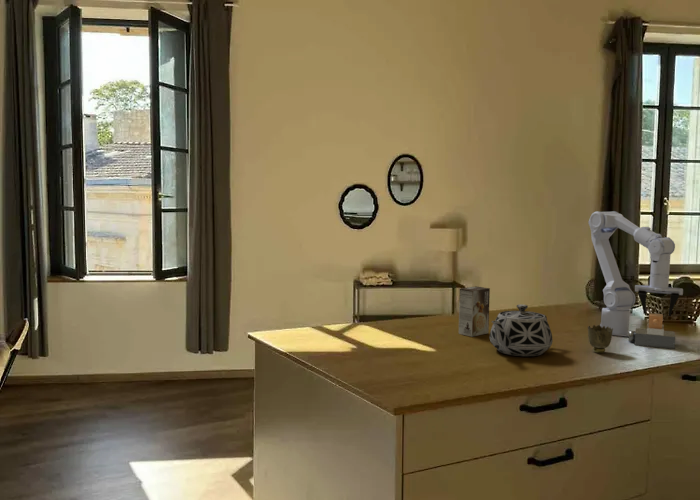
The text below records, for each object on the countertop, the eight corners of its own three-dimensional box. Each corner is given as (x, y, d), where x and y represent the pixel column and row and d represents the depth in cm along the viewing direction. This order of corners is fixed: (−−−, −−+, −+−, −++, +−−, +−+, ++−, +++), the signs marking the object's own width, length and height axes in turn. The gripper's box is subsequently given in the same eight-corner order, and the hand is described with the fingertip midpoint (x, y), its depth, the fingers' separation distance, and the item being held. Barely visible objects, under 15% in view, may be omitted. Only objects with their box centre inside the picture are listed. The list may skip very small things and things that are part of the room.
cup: (599, 356, 218) (600, 330, 217) (581, 350, 224) (582, 326, 223) (616, 353, 221) (618, 328, 220) (598, 348, 228) (599, 324, 227)
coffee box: (474, 330, 252) (476, 285, 250) (488, 333, 247) (490, 288, 245) (457, 333, 246) (459, 288, 244) (472, 337, 241) (473, 290, 239)
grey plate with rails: (628, 344, 234) (629, 326, 234) (628, 339, 242) (629, 321, 242) (674, 349, 229) (675, 330, 228) (673, 343, 237) (674, 325, 236)
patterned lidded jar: (464, 354, 217) (465, 306, 215) (518, 340, 238) (520, 296, 237) (518, 367, 203) (520, 316, 202) (570, 350, 225) (572, 303, 223)
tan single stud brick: (648, 334, 232) (649, 316, 231) (648, 330, 237) (649, 313, 236) (661, 335, 230) (662, 317, 230) (661, 332, 235) (662, 314, 235)
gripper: (635, 273, 233) (633, 314, 235) (684, 277, 228) (681, 318, 229) (636, 271, 240) (634, 310, 241) (683, 274, 234) (680, 315, 235)
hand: (657, 314), depth 236 cm, fingers open, 7 cm apart
